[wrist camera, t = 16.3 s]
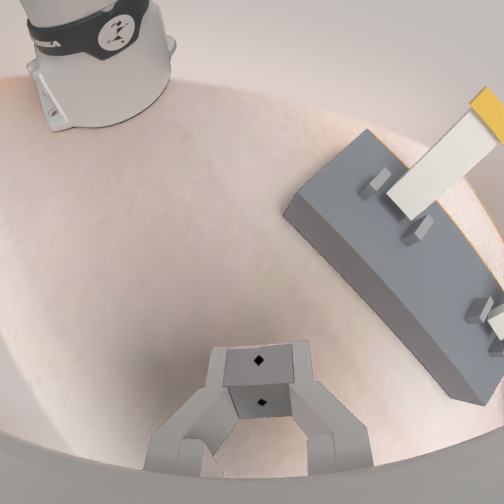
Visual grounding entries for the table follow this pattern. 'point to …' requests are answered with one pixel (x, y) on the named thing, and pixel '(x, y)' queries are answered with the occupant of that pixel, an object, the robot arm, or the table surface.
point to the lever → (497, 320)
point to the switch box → (406, 267)
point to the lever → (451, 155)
